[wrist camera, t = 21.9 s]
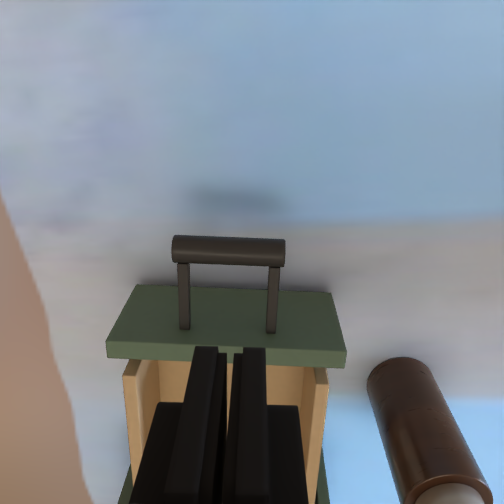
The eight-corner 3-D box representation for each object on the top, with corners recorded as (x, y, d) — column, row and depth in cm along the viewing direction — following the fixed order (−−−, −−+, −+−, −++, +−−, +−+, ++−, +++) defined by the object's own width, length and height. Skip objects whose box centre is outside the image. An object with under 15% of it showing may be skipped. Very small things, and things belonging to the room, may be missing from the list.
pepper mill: (371, 355, 35) (419, 496, 24) (438, 358, 35) (517, 501, 24) (362, 407, 37) (403, 560, 26) (426, 410, 37) (493, 564, 26)
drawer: (129, 203, 30) (94, 245, 24) (340, 212, 30) (360, 256, 23) (148, 451, 38) (125, 529, 32) (312, 459, 38) (321, 539, 32)
